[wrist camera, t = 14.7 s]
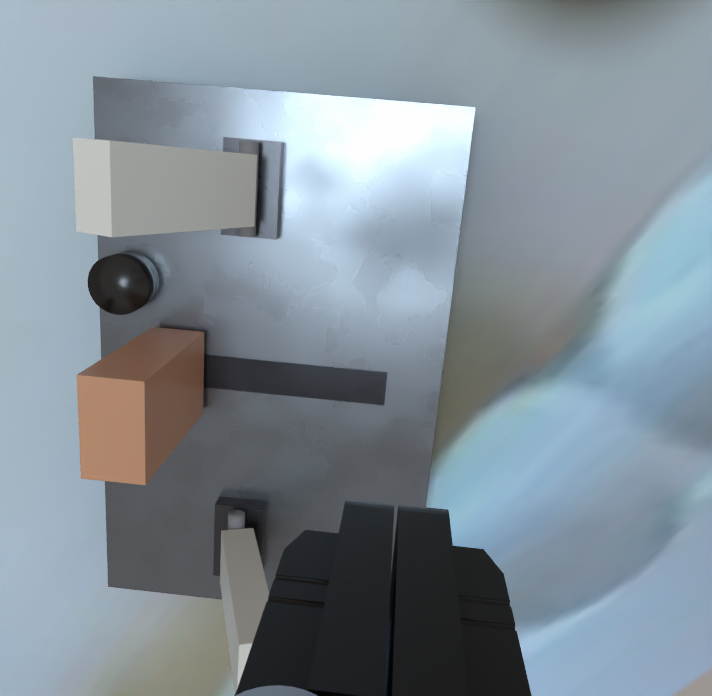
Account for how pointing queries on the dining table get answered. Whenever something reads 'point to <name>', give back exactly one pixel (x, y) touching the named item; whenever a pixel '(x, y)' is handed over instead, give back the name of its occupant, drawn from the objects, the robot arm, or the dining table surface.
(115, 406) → the slider knob
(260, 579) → the lever
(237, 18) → the dining table surface
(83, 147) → the lever
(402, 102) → the panel
